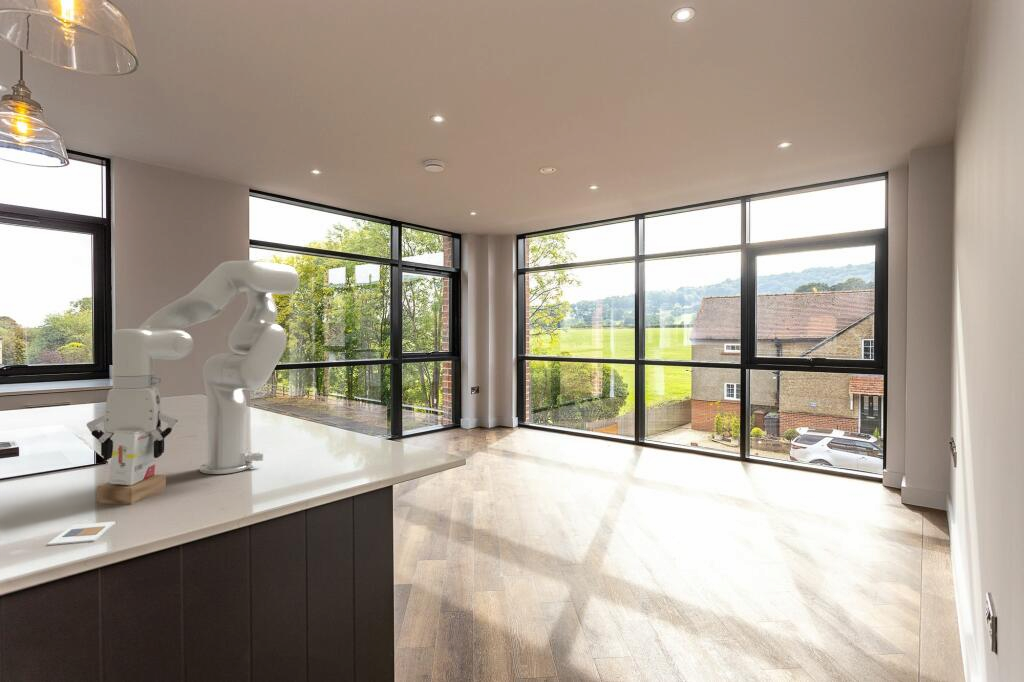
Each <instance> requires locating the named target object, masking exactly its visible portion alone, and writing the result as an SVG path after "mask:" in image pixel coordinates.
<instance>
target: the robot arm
mask: <svg viewBox="0 0 1024 682" xmlns="http://www.w3.org/2000/svg"><path fill="white" fill-rule="evenodd" d="M298 273H299V272H298V271H297V270H296V268H294V267H293V266H291V265H288V264H285V263H284V264H283V263H273V262H266V261H261V260H252V259H251V260H249V259H248V260H228V261H224V262H221V263H220V264H219V265H217V266H216V267H215V268H214V269H213V270H212V271H211V272H210V273H209V274H208V275H207V276H206V277H205V278H204V279H203V280H201V282H200V283H198V285H197V286H195V288H193V289H192V291H190V292H189V293H188V294H186V295H184V296H182V297H180V298H178V299H176V300H174V301H173V302H171V303H169V304H167V305H165V306H163V307H161V309H159V310H157V311H156V312H154V313H153V314H151V316H149V317H148V318H147V319H145V321H144V322H142V324H141V325H139V327H138V328H120V329H116V330H115V331H114V332H113V334H112V388H111V389H109V391H108V393H107V399H106V401H105V402H106V404H105V410H104V414H103V415H102V416H100V417H97V418H95V419H93V420H90V421H88V422H87V423H86V427H87V429H88V430H89V431H90V432H91V435H92V436H93V437H94V438H95V439H97V440H98V442H99V443H100V455H101V457H102V460H103V461H108V460H109V459H112V452H113V442H114V440H113V439H112V437H114V432H115V431H119V430H145V431H144V432H145V433H149V432H150V433H151V434H152V435H153V436H154V437H155V438H156V440H155V441H154V457H155V458H156V459H158V458H160V457H161V456H162V454H164V453H165V439H166V437H168V435H169V436H170V434H171V433H172V432H173V431H174V429H175V428H176V426H177V424H178V422H179V420H178V419H177V418H175V417H173V416H170V415H168V414H165V413H163V411H162V402H161V395H160V391H159V388H158V387H154V386H155V385H158V384H162V383H161V381H162V379H161V377H157V376H156V375H155V374H154V373H155V372H154V371H155V370H154V369H155V365H154V364H155V362H154V361H155V359H157V360H158V359H160V360H171V361H172V360H173V361H175V360H180V359H183V358H185V357H187V356H189V355H190V354H191V353H192V350H193V349H194V343H195V342H194V339H193V337H192V336H191V335H190V334H189V333H188V332H186V331H185V330H184V329H186V328H187V327H191V326H193V325H196V324H199V323H200V324H201V323H203V322H205V321H210V320H212V319H215V318H217V317H218V316H220V315H221V314H222V313H223V311H224V310H225V309H226V308H227V307H228V306H229V305H230V304H231V303H232V301H234V300H235V299H236V298H237V296H238V295H240V294H241V293H243V292H246V295H247V304H246V308H245V310H244V311H243V313H242V315H241V316H240V318H239V320H238V321H237V323H236V324H235V326H234V327H233V329H232V331H231V332H230V334H229V336H228V341H227V344H228V348H229V349H230V350H231V351H232V352H233V353H230V352H229V353H225V352H223V353H217V354H213V355H212V356H210V357H209V358H208V359H207V360H205V362H204V365H203V368H202V378H203V382H204V388H205V395H206V459H205V460H206V461H205V462H204V463H202V464H201V465H200V466H199V472H201V473H203V474H208V475H223V474H233V473H238V472H242V471H246V470H248V469H251V467H252V466H253V462H258V461H259V462H262V461H264V453H260V452H254V453H253V452H249V451H250V449H249V448H247V407H248V406H247V400H246V395H245V393H244V391H245V390H246V391H254V390H259V389H260V388H262V387H263V386H265V385H266V383H267V382H268V380H269V379H270V378H271V376H272V374H273V372H274V370H275V368H276V366H277V365H278V363H279V362H280V360H281V358H282V356H283V354H284V352H285V350H286V347H287V339H288V338H287V334H286V331H285V329H284V328H283V327H282V326H281V325H279V324H277V323H276V321H277V318H278V308H277V303H276V302H275V299H274V296H273V295H289V294H292V293H294V292H295V291H296V290H297V288H298V287H299V284H300V276H299V274H298ZM243 390H244V391H243ZM164 422H165V423H167V424H168V425H167V427H166V428H165V429H164V430H163V429H161V427H163V423H164ZM101 423H102V424H103V426H104V427H103V428H104V431H102V430H101V429H100V427H99V424H101Z"/></svg>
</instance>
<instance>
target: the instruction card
mask: <svg viewBox="0 0 1024 682" xmlns="http://www.w3.org/2000/svg"><path fill="white" fill-rule="evenodd" d="M116 523H117V521H116V520H115V521H105V522H104V521H103V522H93V523H79V524H72V525H71V526H69V527H68V528H67V529H66V530H64V531H62V532H61V533H60V534H57V536H55V537H54V538H53V539H51V540H50V541H49V542H47V544H46V546H57V545H66V544H77V543H78V544H79V543H90V542H95V541H96V540H98V539H99V538H100V537H102V535H104V534H105V533H106V532H107V531H109V529H110V528H111V527H113V526H114V525H115V524H116Z"/></svg>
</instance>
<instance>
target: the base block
mask: <svg viewBox="0 0 1024 682" xmlns="http://www.w3.org/2000/svg"><path fill="white" fill-rule="evenodd" d="M166 479H167V475H166V474H155V473H154V475H152V476H150V477H147V478H145V479H143V480H141V481H139V482H137V483H135V484H133V485H131V486H130V485H122V484H112V483H109V482H106V483H103V484H100V485H98V486H97V489H96V492H97V493H96V495H97V496H96V501H97V502H96V503H98V504H113V505H134V504H136V503H138V502H142V501H144V500H145V499H148V498H151V497H152V496H155V495H158V494H160V493H162V492H164V491H166V490H167V483H166V482H167V480H166Z"/></svg>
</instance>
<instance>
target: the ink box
mask: <svg viewBox="0 0 1024 682" xmlns="http://www.w3.org/2000/svg"><path fill="white" fill-rule="evenodd" d="M144 431H145V430H119V431H115V432H114V435H113V452H112V458H111V464H110V472H109V481H108V483H112V484H122V485H130V486H131V485H133V484H135V483H137V482H139V481H141V480H143V479H145V478H147V477H150V476H152V475H154V474H155V469H156V459H157V458H155V457H154V441H155V440H156V438H155V437H154V436H153V435H152V434H151V433H150V432H149V433H145V432H144Z"/></svg>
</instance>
